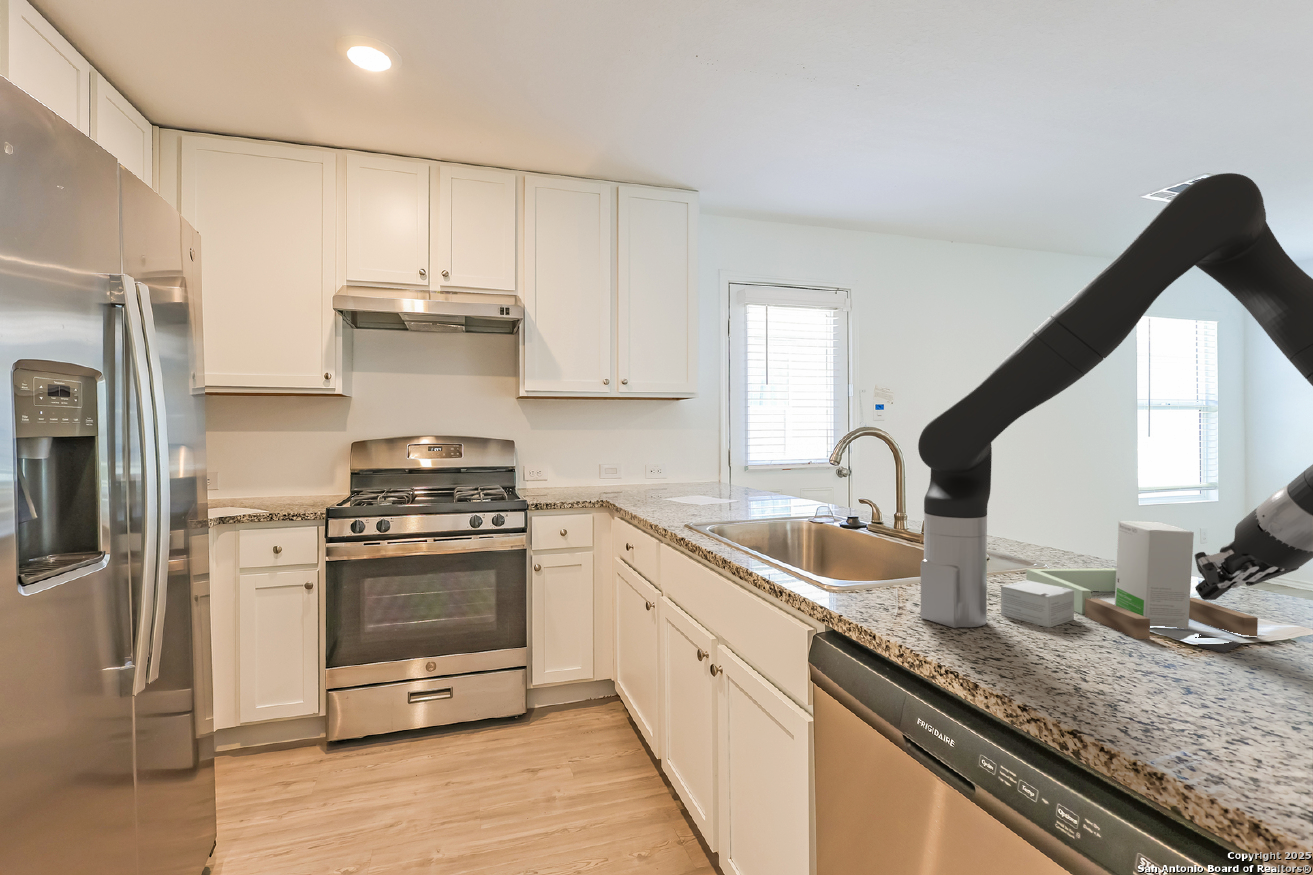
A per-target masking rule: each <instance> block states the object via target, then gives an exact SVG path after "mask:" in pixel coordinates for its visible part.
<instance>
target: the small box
mask: <svg viewBox="0 0 1313 875" xmlns="http://www.w3.org/2000/svg"><path fill="white" fill-rule="evenodd" d="M1000 615H1001V616H1002V617H1007V618H1011V619H1015V620H1019V621H1023V622H1026V623H1030V624H1033V625H1037V626H1041V627H1045V628H1049V629H1050V628H1052V627H1055V626H1059V625H1062V624H1065V623H1068V622H1071V621H1074V620H1075V611H1074V590H1071V589H1068V588H1063V587H1058V586H1053V585H1048V584H1043V583H1038V582H1033V581H1028V580H1026V579H1025V580H1021V581H1017V582H1014V583H1010V584H1006V585H1001V586H1000Z"/></svg>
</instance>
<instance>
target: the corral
mask: <svg viewBox="0 0 1313 875" xmlns="http://www.w3.org/2000/svg"><path fill="white" fill-rule="evenodd" d="M1025 571H1026V577H1025V578H1026V579H1025V580H1028V581H1033V582H1038V583H1043V584H1048V585H1053V586H1058V587H1063V588H1068V589H1071V590H1074V613H1075V612H1076V613H1078V614H1079V615H1085V598H1092V592H1093V591H1099V592H1115V587H1116V568H1109V567H1108V568H1026V570H1025Z"/></svg>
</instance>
